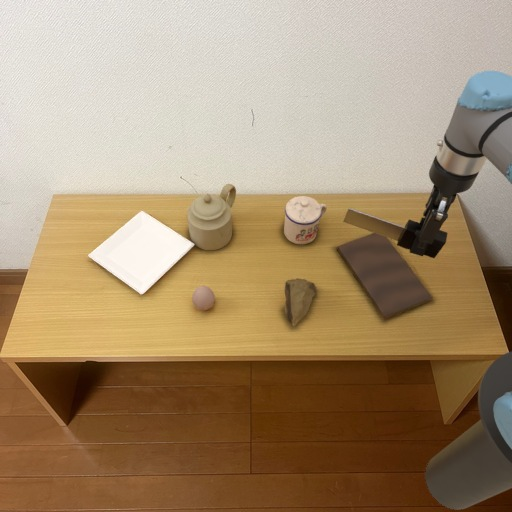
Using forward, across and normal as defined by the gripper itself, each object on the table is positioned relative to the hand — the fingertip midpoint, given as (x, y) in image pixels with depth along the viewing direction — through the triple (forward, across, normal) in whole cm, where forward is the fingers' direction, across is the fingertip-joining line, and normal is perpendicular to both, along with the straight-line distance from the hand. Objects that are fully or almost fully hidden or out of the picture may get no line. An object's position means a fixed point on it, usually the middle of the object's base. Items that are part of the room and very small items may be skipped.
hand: (417, 246), depth 99 cm
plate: (+19, +11, -62) cm, 65 cm away
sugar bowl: (+19, -3, -49) cm, 52 cm away
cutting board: (+19, -4, -4) cm, 19 cm away
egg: (+19, +19, -41) cm, 49 cm away
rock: (+19, +11, -20) cm, 30 cm away
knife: (0, 0, -6) cm, 6 cm away
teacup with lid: (+19, -11, -26) cm, 34 cm away
